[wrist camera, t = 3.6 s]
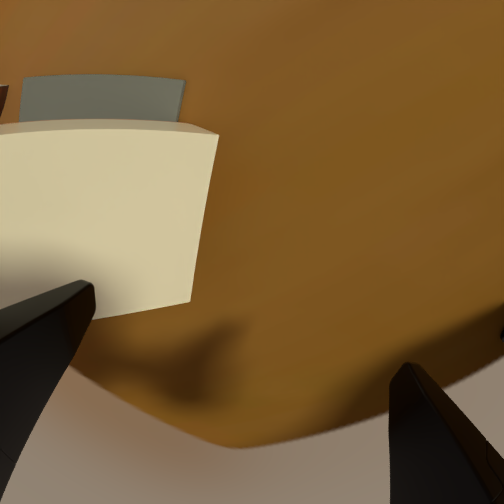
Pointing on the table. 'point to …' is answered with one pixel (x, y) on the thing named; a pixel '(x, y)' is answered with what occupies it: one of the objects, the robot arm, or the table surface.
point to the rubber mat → (100, 97)
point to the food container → (3, 96)
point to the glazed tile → (103, 209)
